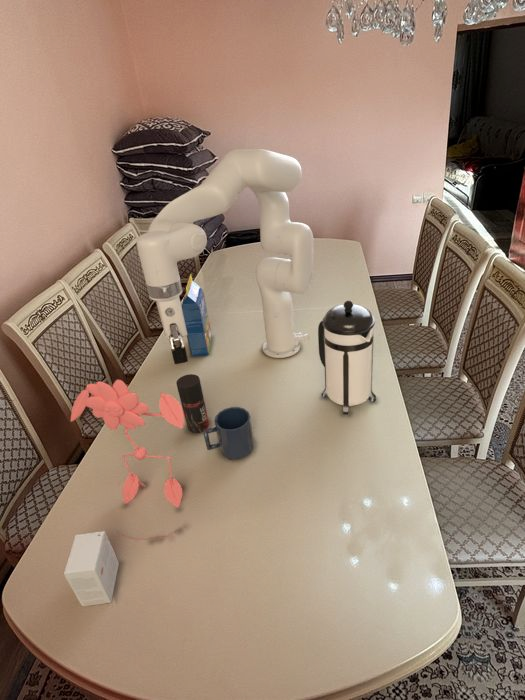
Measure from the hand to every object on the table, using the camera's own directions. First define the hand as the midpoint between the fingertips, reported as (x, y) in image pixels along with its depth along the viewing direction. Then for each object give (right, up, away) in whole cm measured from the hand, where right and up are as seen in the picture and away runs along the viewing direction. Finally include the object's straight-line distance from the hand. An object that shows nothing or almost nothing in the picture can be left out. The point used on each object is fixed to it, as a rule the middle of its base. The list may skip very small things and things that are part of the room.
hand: (178, 352), depth 110 cm
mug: (+13, -24, +3) cm, 27 cm away
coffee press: (+43, -13, +16) cm, 48 cm away
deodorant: (+3, -20, +12) cm, 24 cm away
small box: (-10, -44, -24) cm, 51 cm away
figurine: (-5, -35, -11) cm, 37 cm away
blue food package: (-1, +2, +47) cm, 47 cm away
